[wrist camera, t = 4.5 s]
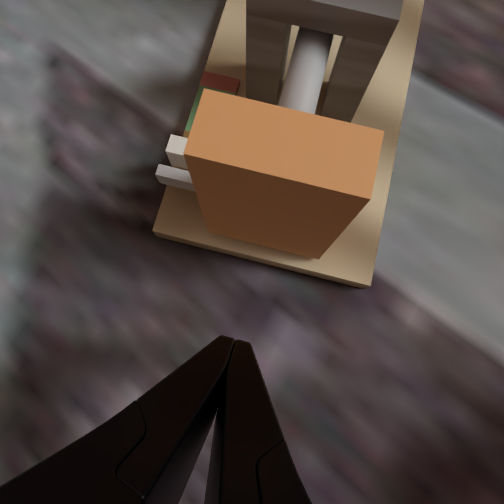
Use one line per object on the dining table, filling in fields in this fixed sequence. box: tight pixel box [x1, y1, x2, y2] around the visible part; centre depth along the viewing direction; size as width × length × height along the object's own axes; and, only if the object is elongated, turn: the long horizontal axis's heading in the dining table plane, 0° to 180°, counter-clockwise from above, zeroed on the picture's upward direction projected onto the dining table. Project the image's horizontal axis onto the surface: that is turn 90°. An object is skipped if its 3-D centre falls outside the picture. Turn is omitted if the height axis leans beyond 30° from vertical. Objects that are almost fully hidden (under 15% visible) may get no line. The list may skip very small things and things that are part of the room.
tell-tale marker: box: [166, 134, 188, 170], centre depth 18 cm, size 1×2×1 cm, turn 76°
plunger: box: [155, 27, 384, 260], centre depth 15 cm, size 9×8×8 cm
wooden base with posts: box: [152, 0, 424, 289], centre depth 16 cm, size 16×10×9 cm, turn 166°
